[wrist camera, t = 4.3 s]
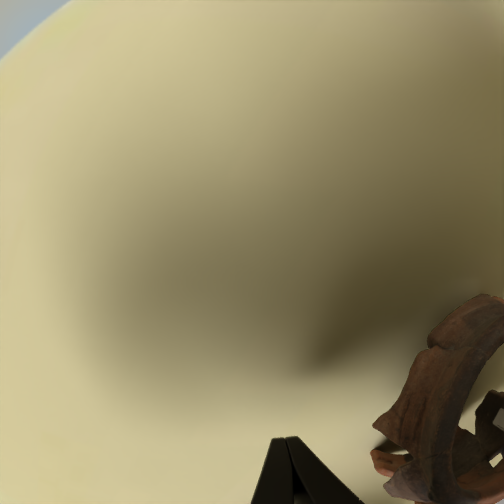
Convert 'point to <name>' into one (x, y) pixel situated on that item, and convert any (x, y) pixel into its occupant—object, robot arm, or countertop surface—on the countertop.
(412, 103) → the countertop surface
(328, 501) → the robot arm
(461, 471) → the pottery mug
